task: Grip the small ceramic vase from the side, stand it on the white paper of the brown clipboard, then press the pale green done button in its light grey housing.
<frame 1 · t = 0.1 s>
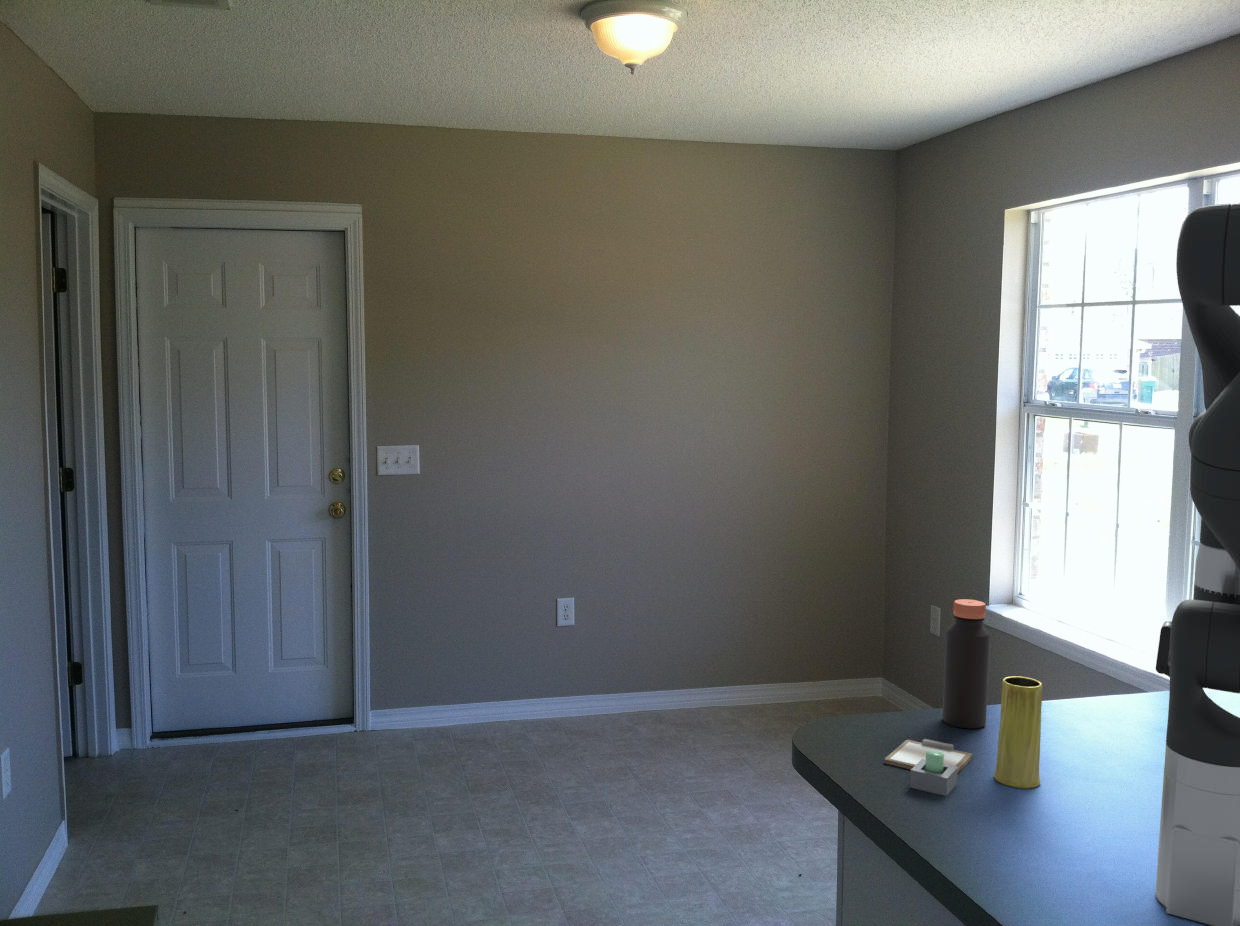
hand: (1221, 717, 123), 17 cm above the table, tool pointing down, fingers open, 8 cm apart
button housing: (933, 785, 145), on the table
bottle: (963, 723, 171), on the table
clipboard: (928, 760, 154), on the table
done button: (934, 764, 144), point 3 cm above the table, slide at 0.0 cm
vase: (1016, 781, 147), on the table
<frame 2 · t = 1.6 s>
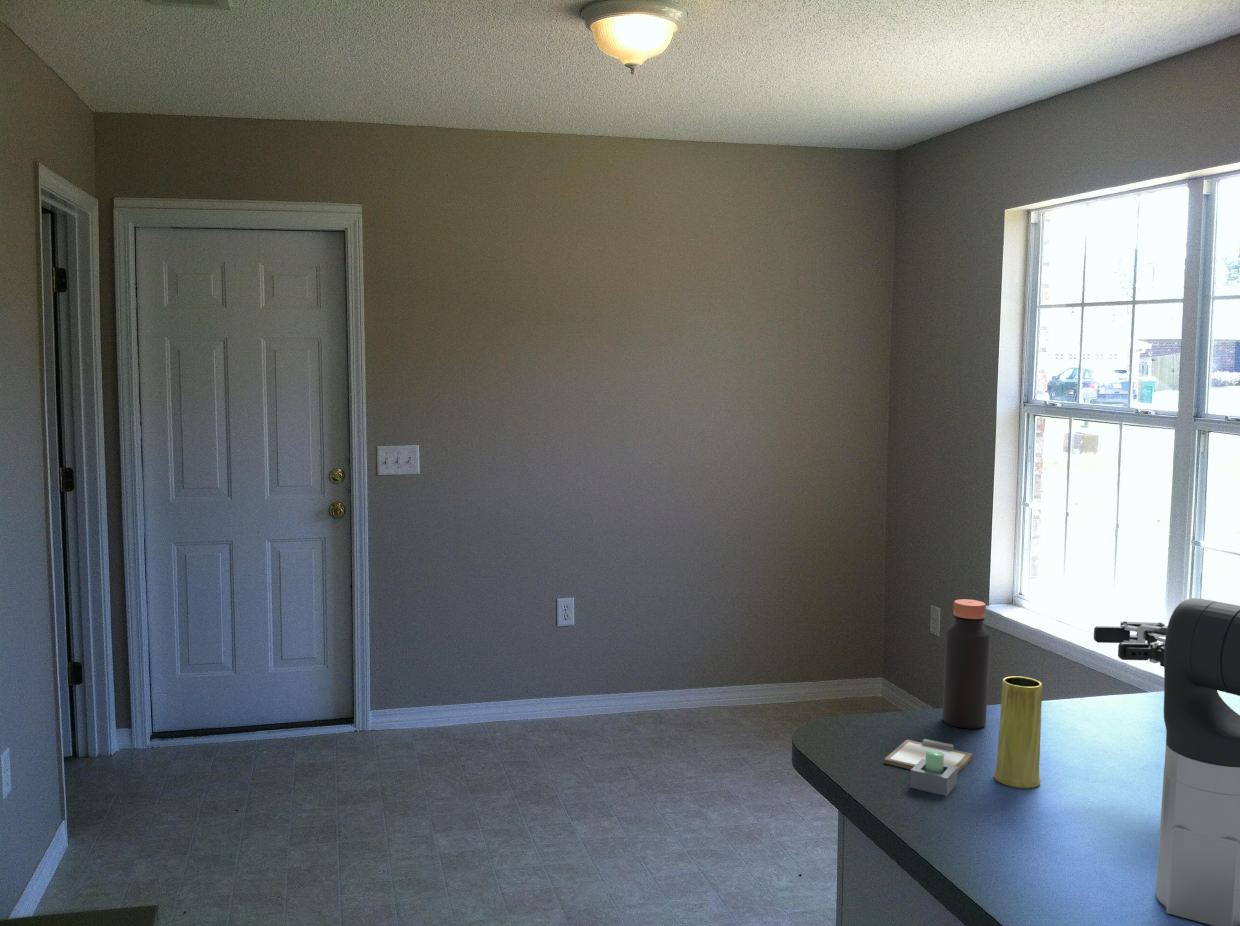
hand: (1106, 642, 144), 20 cm above the table, tool horizontal, fingers open, 8 cm apart
nothing on the table moved.
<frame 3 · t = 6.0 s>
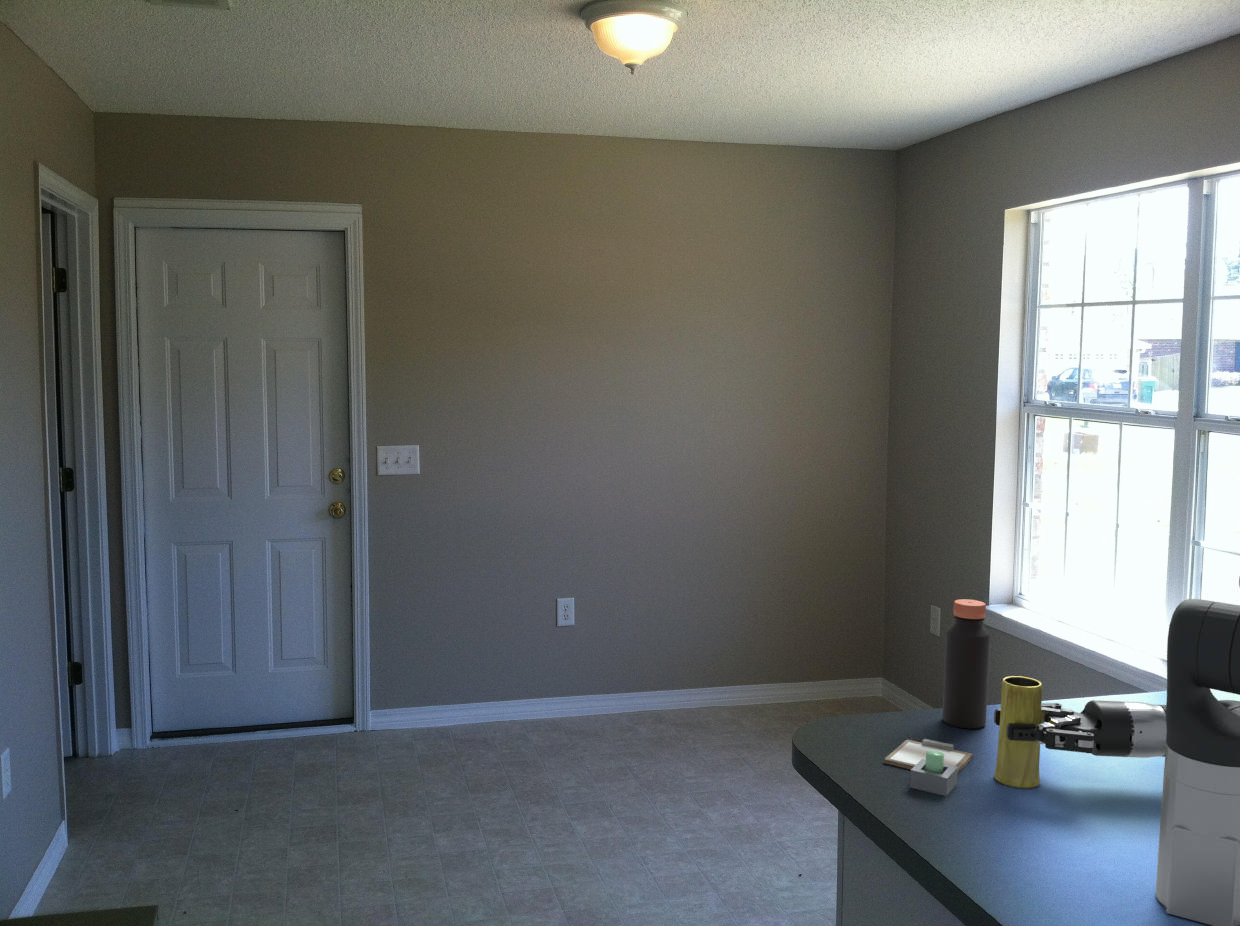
hand: (1001, 724, 146), 8 cm above the table, tool horizontal, fingers closed on vase, 5 cm apart
vase: (1016, 781, 147), on the table, touching gripper
everything else where it was.
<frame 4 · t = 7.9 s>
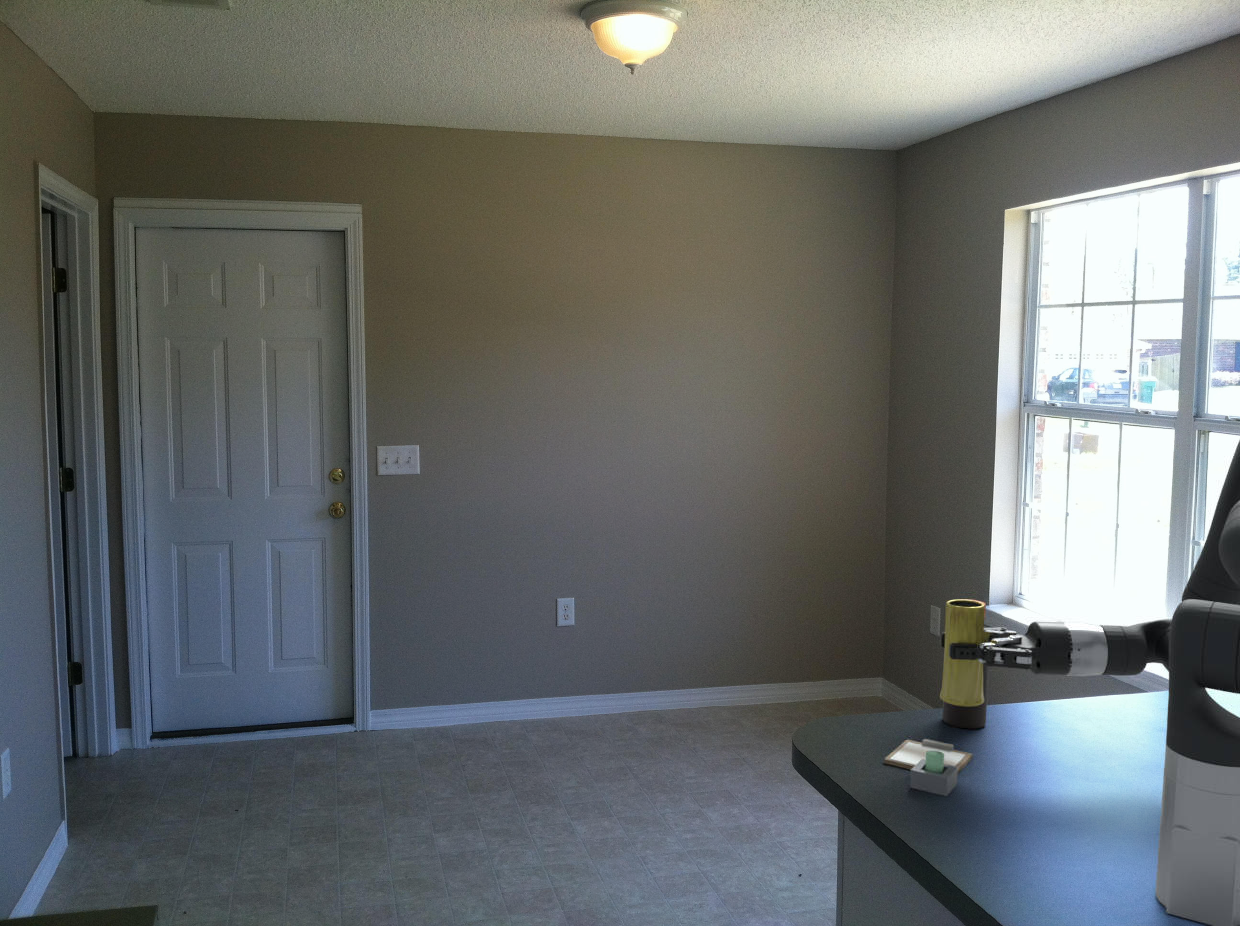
hand: (945, 645, 151), 18 cm above the table, tool horizontal, fingers closed on vase, 5 cm apart
vase: (961, 701, 151), point 10 cm above the table, touching gripper
everything else where it was.
when the fingers open (10 cm above the table, at t = 10.1 s): vase drops 1 cm, resting on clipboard.
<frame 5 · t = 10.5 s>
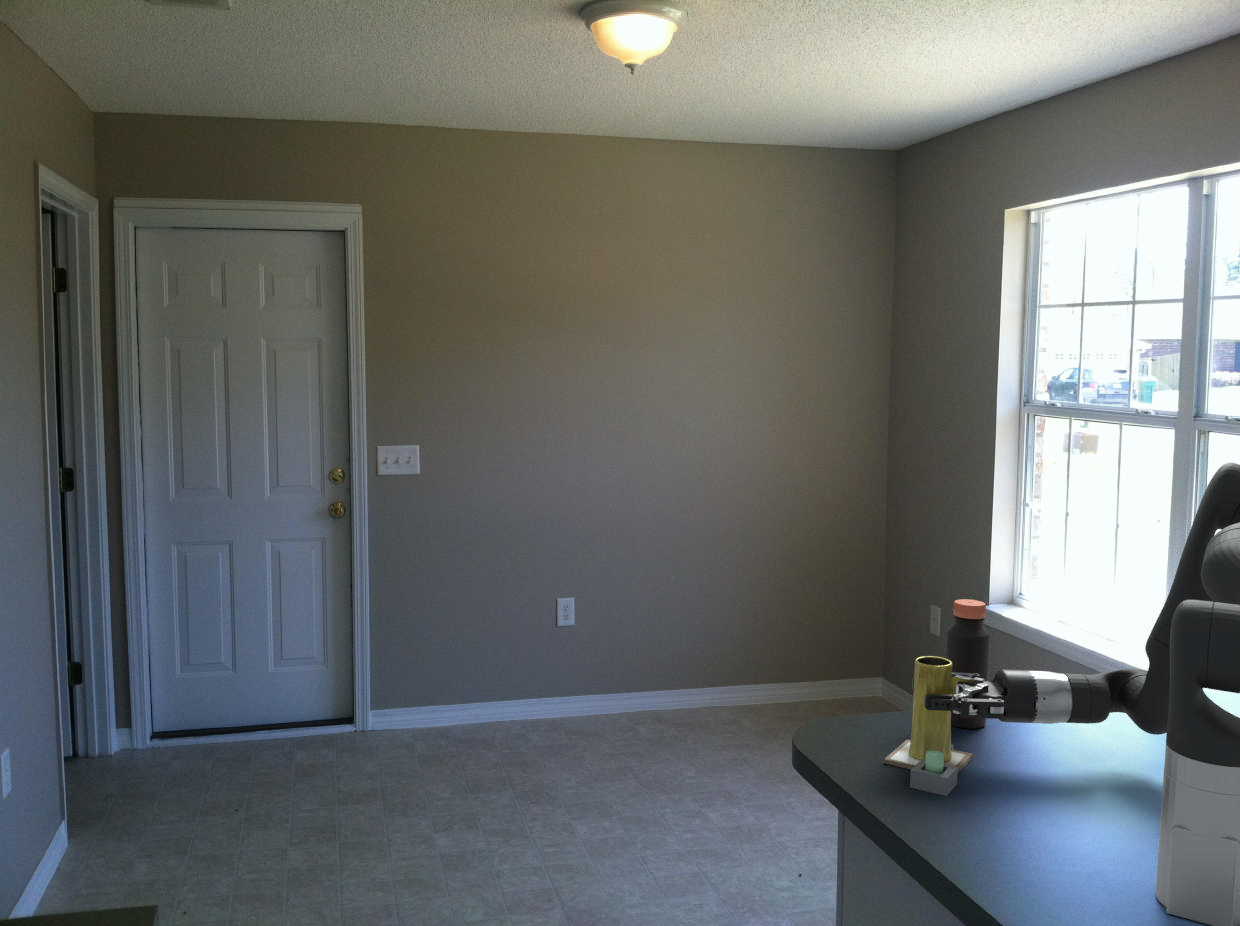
hand: (918, 692, 153), 10 cm above the table, tool horizontal, fingers open, 8 cm apart
vase: (930, 756, 154), point 1 cm above the table, touching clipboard
everything else where it was.
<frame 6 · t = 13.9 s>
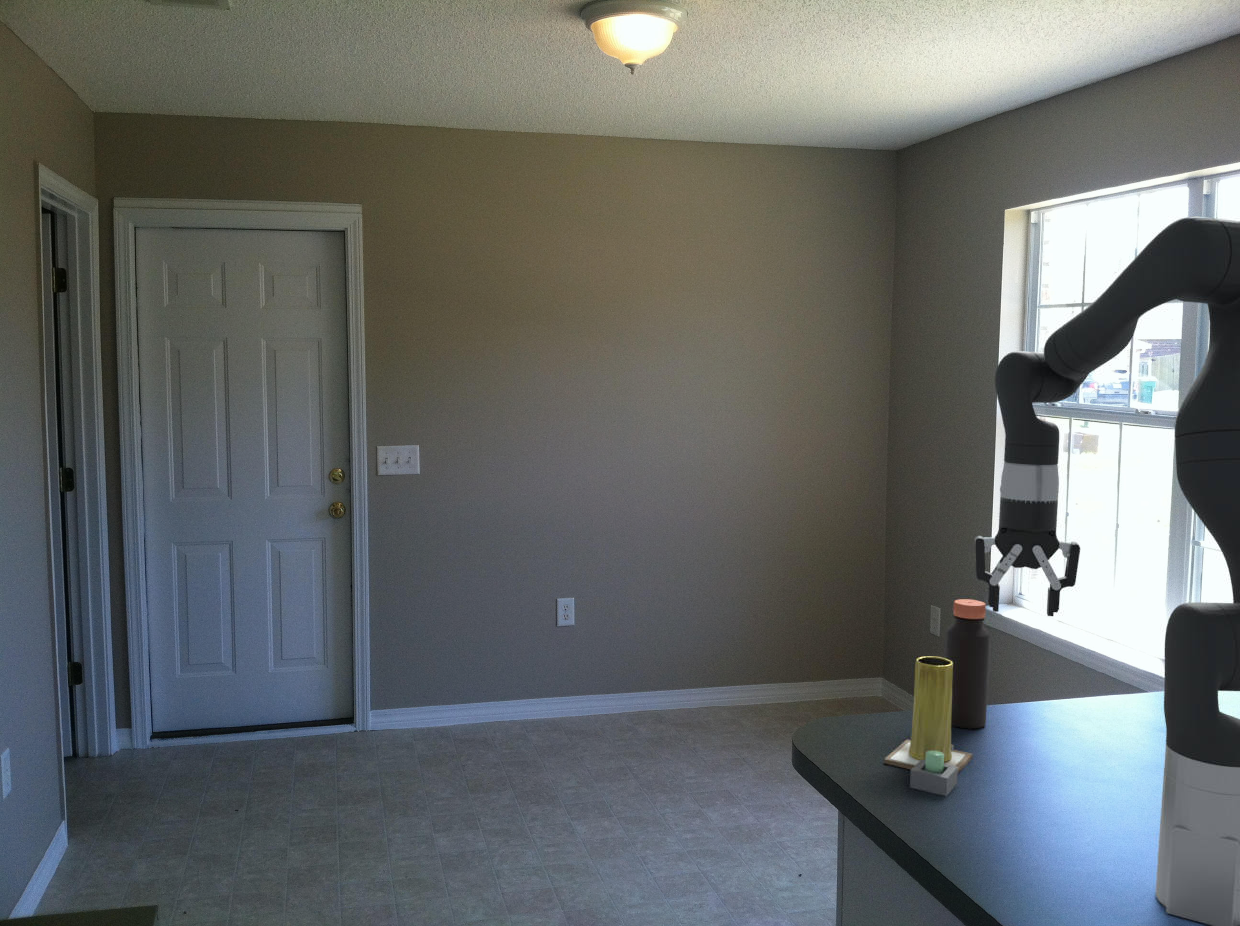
hand: (1022, 612, 147), 24 cm above the table, tool pointing down, fingers open, 6 cm apart
nothing on the table moved.
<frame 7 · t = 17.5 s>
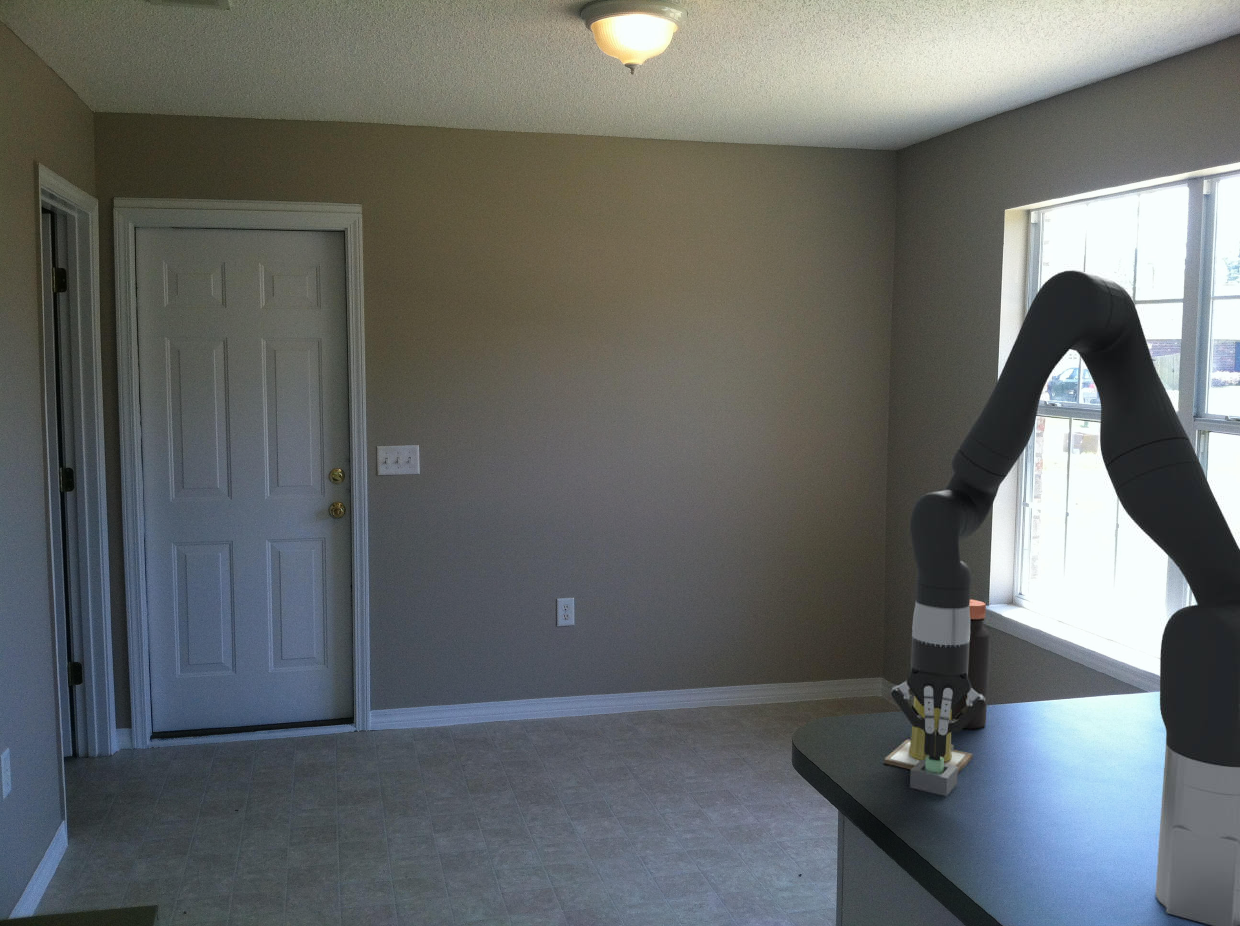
hand: (934, 757, 144), 4 cm above the table, tool pointing down, fingers closed
done button: (934, 769, 144), point 2 cm above the table, slide at 0.7 cm, touching gripper
everything else where it was.
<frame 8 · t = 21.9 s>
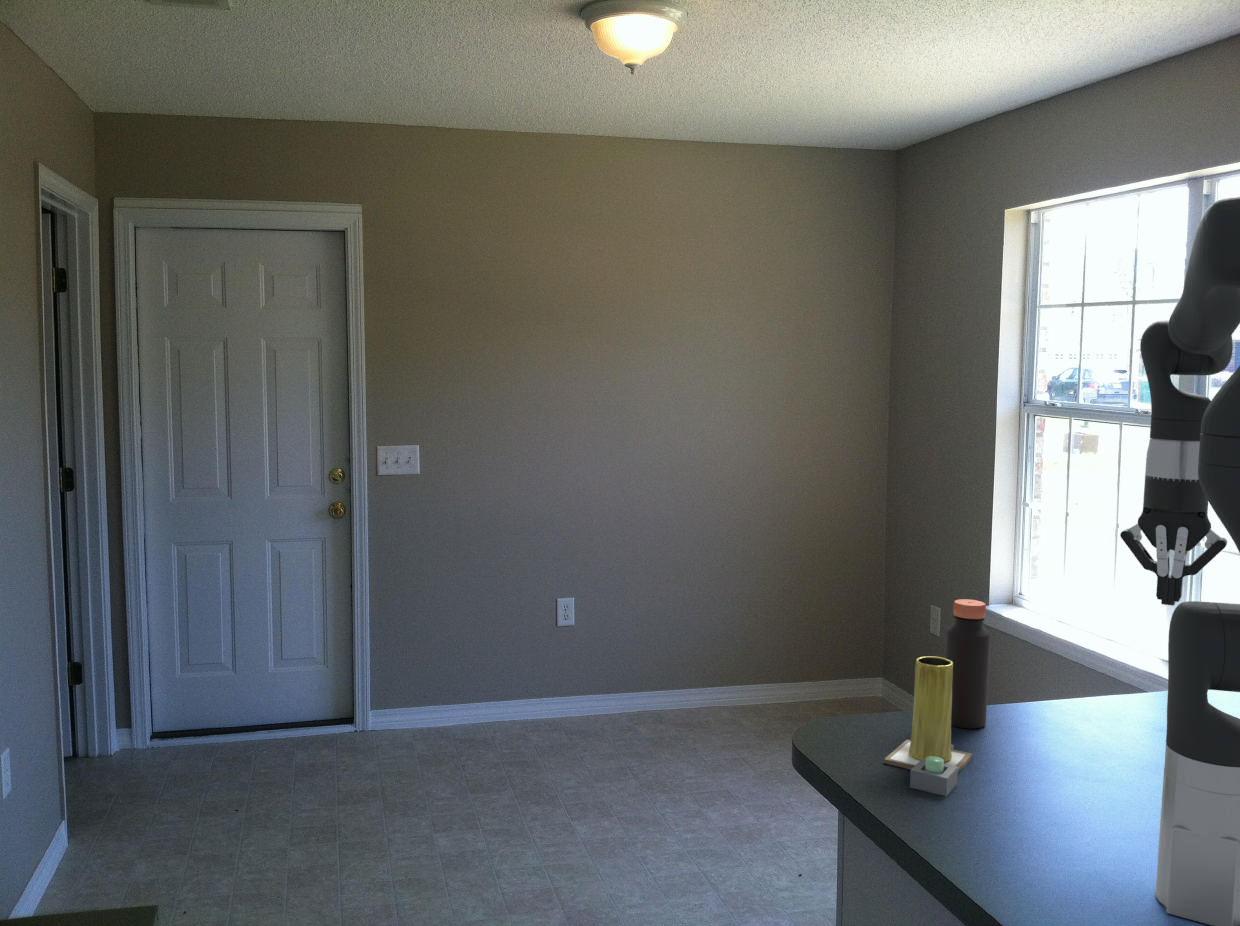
hand: (1168, 603, 138), 27 cm above the table, tool pointing down, fingers closed
done button: (934, 770, 144), point 2 cm above the table, slide at 0.8 cm
everything else where it was.
at the end: vase inside the target area on the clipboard (0.2 cm from its centre), point 0.5 cm above the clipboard's base; vase tilted 0°; done button slide at 0.8 cm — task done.
